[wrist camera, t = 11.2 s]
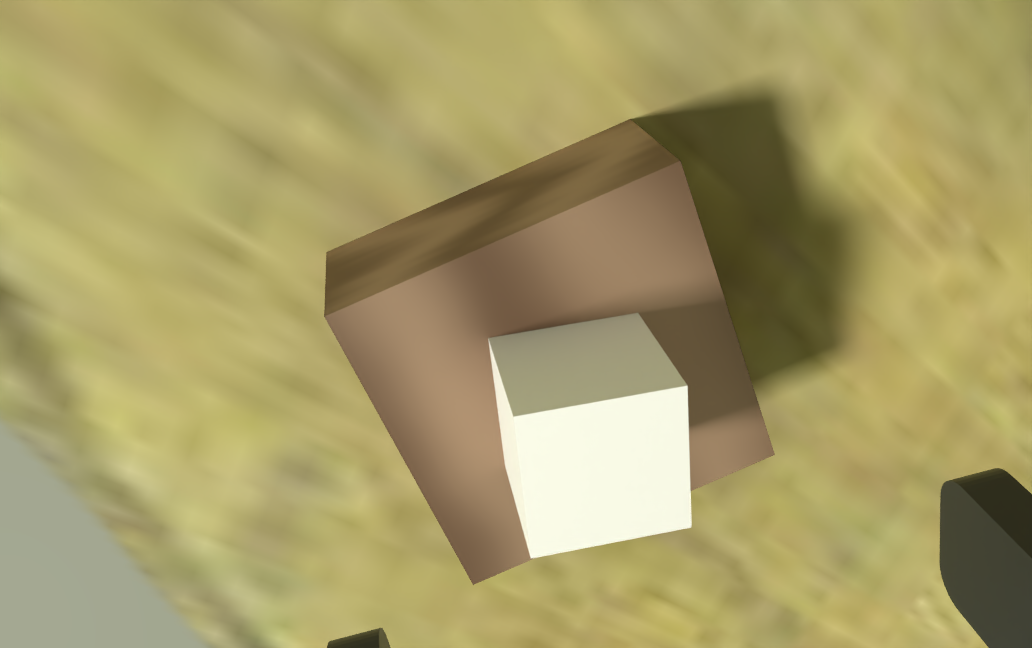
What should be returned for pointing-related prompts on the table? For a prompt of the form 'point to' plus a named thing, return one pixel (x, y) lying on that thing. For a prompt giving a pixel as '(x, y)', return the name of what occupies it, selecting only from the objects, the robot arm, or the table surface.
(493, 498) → the walnut box
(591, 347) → the cube
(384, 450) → the table surface
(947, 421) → the table surface
